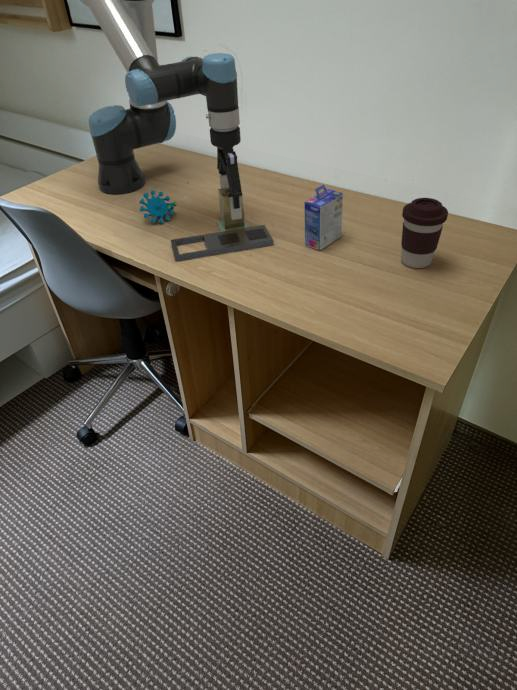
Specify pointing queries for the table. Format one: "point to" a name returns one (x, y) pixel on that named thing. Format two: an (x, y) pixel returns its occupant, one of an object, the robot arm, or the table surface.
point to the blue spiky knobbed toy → (157, 207)
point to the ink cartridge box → (323, 218)
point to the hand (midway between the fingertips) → (231, 207)
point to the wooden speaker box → (229, 211)
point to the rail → (225, 242)
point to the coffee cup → (421, 231)
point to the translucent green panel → (223, 227)
